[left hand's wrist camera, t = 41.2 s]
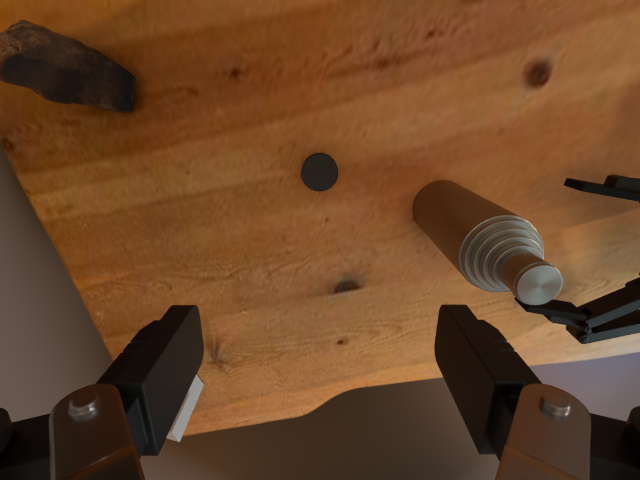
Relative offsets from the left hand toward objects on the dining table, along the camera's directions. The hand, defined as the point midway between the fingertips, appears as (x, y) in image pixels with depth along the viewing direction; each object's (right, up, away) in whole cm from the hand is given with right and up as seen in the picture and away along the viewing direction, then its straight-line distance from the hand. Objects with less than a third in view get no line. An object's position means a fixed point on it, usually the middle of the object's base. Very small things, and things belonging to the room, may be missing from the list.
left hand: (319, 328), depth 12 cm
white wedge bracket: (-22, -19, +43) cm, 52 cm away
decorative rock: (-26, +22, +28) cm, 44 cm away
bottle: (+15, +7, +33) cm, 37 cm away
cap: (0, +11, +30) cm, 32 cm away
